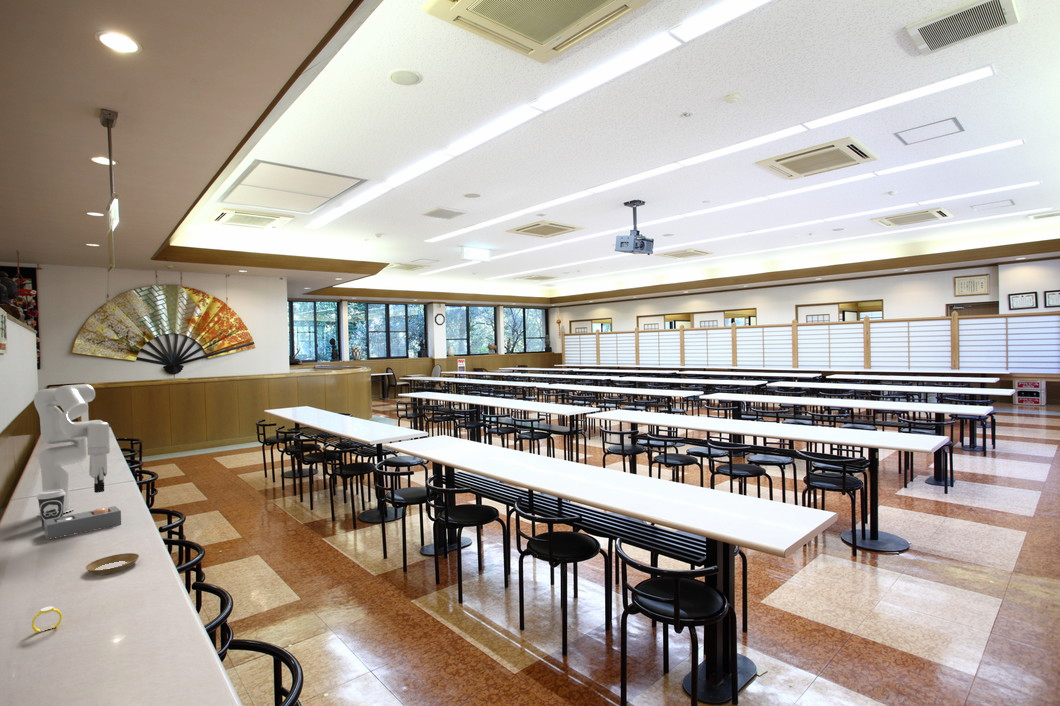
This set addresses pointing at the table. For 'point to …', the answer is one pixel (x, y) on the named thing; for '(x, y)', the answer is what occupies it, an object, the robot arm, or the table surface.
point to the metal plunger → (64, 519)
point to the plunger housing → (81, 522)
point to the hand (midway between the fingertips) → (99, 491)
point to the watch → (46, 610)
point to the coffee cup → (51, 504)
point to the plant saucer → (126, 557)
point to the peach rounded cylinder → (100, 511)
